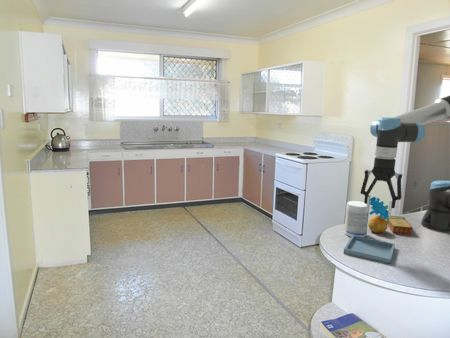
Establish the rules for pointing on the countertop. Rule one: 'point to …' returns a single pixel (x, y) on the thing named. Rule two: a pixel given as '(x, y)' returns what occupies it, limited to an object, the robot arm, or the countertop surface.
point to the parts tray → (370, 249)
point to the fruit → (377, 224)
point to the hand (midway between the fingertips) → (378, 213)
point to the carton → (399, 225)
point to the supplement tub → (356, 219)
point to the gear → (378, 208)
